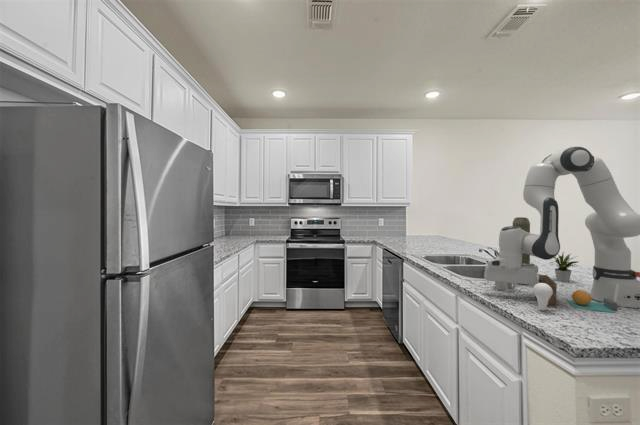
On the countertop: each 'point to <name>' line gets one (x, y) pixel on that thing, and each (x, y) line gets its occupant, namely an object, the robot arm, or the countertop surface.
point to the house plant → (563, 268)
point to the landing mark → (591, 306)
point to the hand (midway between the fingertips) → (509, 292)
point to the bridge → (553, 285)
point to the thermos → (525, 226)
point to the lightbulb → (542, 294)
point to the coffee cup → (502, 285)
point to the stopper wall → (610, 304)
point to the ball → (581, 297)
